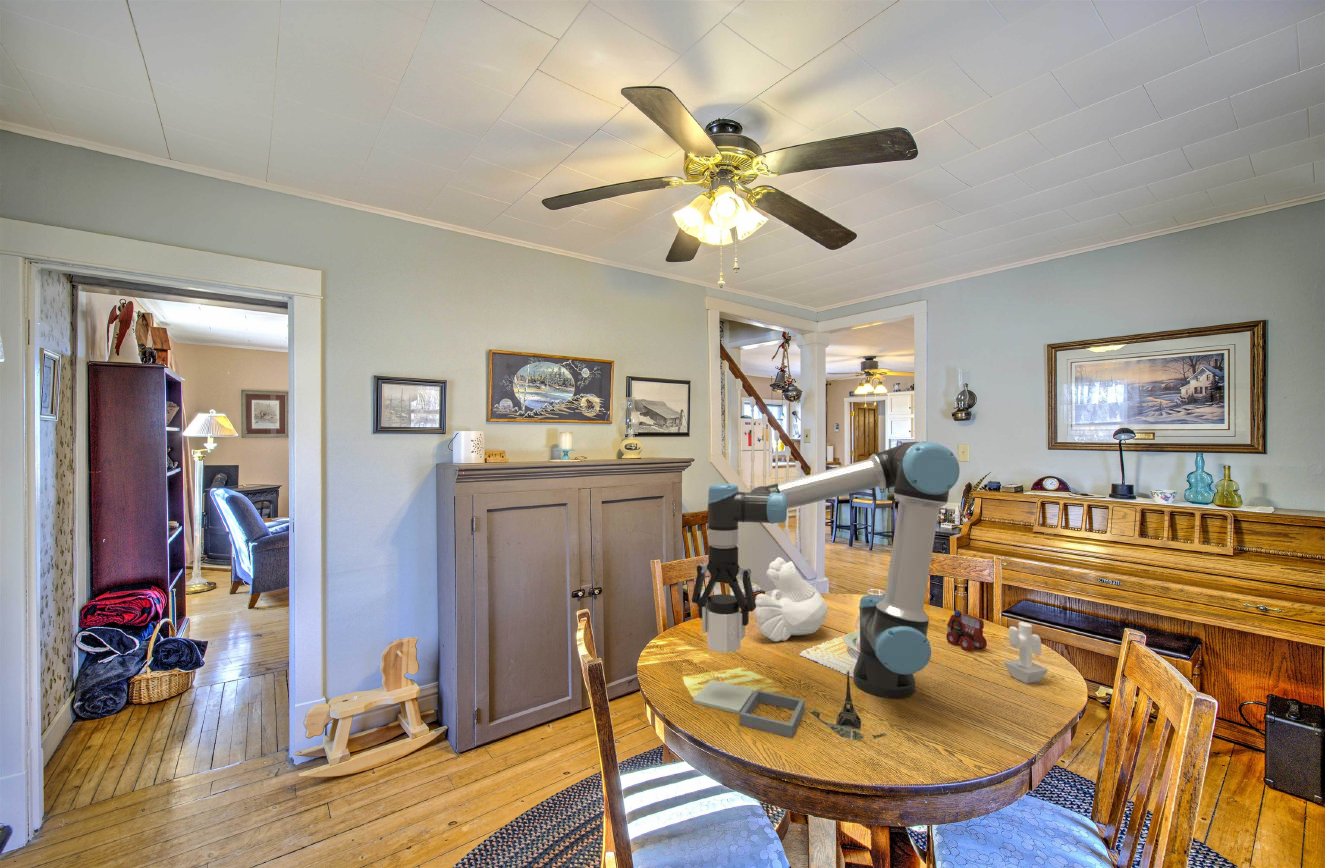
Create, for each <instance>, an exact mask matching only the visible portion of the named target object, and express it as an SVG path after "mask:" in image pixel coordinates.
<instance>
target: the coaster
mask: <svg viewBox="0 0 1325 868" xmlns="http://www.w3.org/2000/svg"><path fill="white" fill-rule="evenodd" d="M754 692H755V688H751V687H746V686H742V685H738V684H732V683H728V682H725V681H724V682H722V681H720V680H714V679H710V680H709V681H708V682H707V683H706V684H705V685H704V686H703V688H702V689H701V690H700V691H699V693H697V694H696V696H695V697H694V698H693V699H692V703H693V704H696V705H700V706H703V707H704V706H705V707H708V708H713V709H717V710H721V711H726V712H730V713H734V714H740V712H741V711H742V709H743V708H744V706H745V705H746V703H747V702H748V700H749V699H750V698H751V696H752V695H753V693H754Z"/></svg>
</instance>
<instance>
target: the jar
mask: <svg viewBox="0 0 1325 868" xmlns="http://www.w3.org/2000/svg"><path fill="white" fill-rule="evenodd" d="M706 604H707V632H706V643H707V647H708V649H709V650H710V651H713V652H718V653H724V654H728V653H732V652H736V651H739V650H741V649H742V648H741V647H742V646H741V645H742V644H741V640H740V639H739V612H740V611H741V610H740V606H739V604H738V602H737V600H736V598H735V595H734V594H733V595H732V594H726V593H721V594H720V593H717V594H711V595H710V596H709V597H708V598H707V603H706Z"/></svg>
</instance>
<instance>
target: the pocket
mask: <svg viewBox="0 0 1325 868" xmlns="http://www.w3.org/2000/svg"><path fill="white" fill-rule="evenodd" d="M805 701H806V700H805V699H804V698H803V699H802V698H797V697H793V696H790V695H785V694H780V693H779V694H778V693H775V692H769V691H764V690H760V689H754V693H753V695H752V696H751V698H750V699H749V700H748V702H747V703H746V705H745V706H744V708H743V709H742V711H741V712H740V714H739V716H738V717H739V718H738V719H739V725H740V726H744V727H747V728H751V729H754V730H759V731H764V732H766V733H767V732H768V733H771V734H774V735H778V736H779V735H780V736H782V737H788V738H791V739H793V737H794V735H795V733H796V730H797V728H798V726H799V724H800V721H801V719H802V717H803V715H804V713H805V710H806V708H805V707H806V704H805V703H806V702H805ZM759 703H761V704H766V705H771V706H774V707H779V708H783V709H788V710H792V711H794V712H793V714H792V715H791V718H789V722H786V721H781V720H777V719H772V718H769V717H764V716H761V715H757V714H752V713H753V712H754V710H755V709H756V707H758V704H759Z"/></svg>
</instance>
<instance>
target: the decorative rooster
mask: <svg viewBox="0 0 1325 868" xmlns="http://www.w3.org/2000/svg"><path fill="white" fill-rule="evenodd" d="M766 577H767V579H768V580H771V581H772V583H773V584H774V585H775V588H776V589H773V590H772V592H771V594H770V595H771V596H769V595H767V594H765V593H758V594H757V595H756V596H755V603H756V608H755V609H754V616H755V618H756V623H757V624H758V630H759V632H760V633H762V635H763V636H765V637H767V638H768V639H770V640H771V641H772V642H776V643H777V642H780V641H782V642H785V641H787V640H788V639H790V637H791V636H804V635H811V634H813V633H815V632H817V631H818V630H819V628H821V626H822V625H823V624H824V622H825V620H826V618H827V614H828V607H827V603H826V601H825V599H824V598H823V596H822V595H821V593H820V592H819V591H818V590H817V589H816V588H815V587H814V586H813V585H811V584H810V583H809V582H807V581H806V580H805V579H804V578H803V577H802V575H801V574H800V573H799V570H798V569H796V565H795V564H794V562H793V561H788V562H786V561H785V560H784V558H782V557H780V556H779V557H776V559H774V560H773V561H771V562H770V563H769V565H768V569H767V570H766ZM777 595H779V598H778V599H777V597H776V596H777Z"/></svg>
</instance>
